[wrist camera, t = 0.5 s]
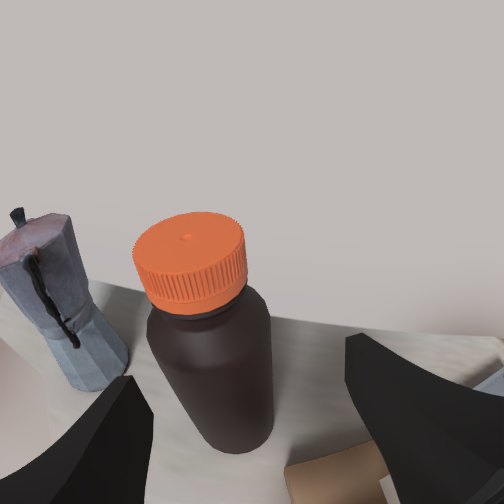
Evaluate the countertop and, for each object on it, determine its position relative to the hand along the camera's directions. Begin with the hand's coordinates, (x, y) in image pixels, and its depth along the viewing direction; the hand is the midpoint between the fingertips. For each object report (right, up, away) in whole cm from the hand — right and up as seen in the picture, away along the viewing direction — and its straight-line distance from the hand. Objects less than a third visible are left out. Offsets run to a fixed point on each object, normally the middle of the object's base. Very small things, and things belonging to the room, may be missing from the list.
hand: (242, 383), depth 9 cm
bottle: (-1, -12, +15) cm, 19 cm away
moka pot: (-17, -9, +21) cm, 28 cm away
